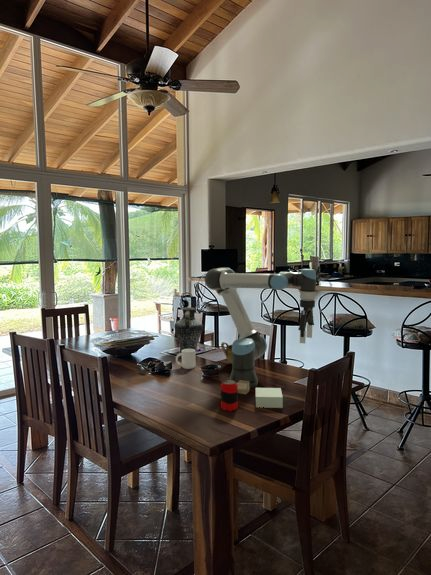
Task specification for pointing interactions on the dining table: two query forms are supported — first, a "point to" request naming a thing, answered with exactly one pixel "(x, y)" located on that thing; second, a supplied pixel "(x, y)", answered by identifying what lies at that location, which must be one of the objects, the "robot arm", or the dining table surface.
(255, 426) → the dining table surface
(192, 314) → the jug
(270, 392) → the green block
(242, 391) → the maple cube
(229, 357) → the olive yellow teapot
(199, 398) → the dining table surface
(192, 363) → the mug
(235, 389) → the soda can
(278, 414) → the dining table surface
